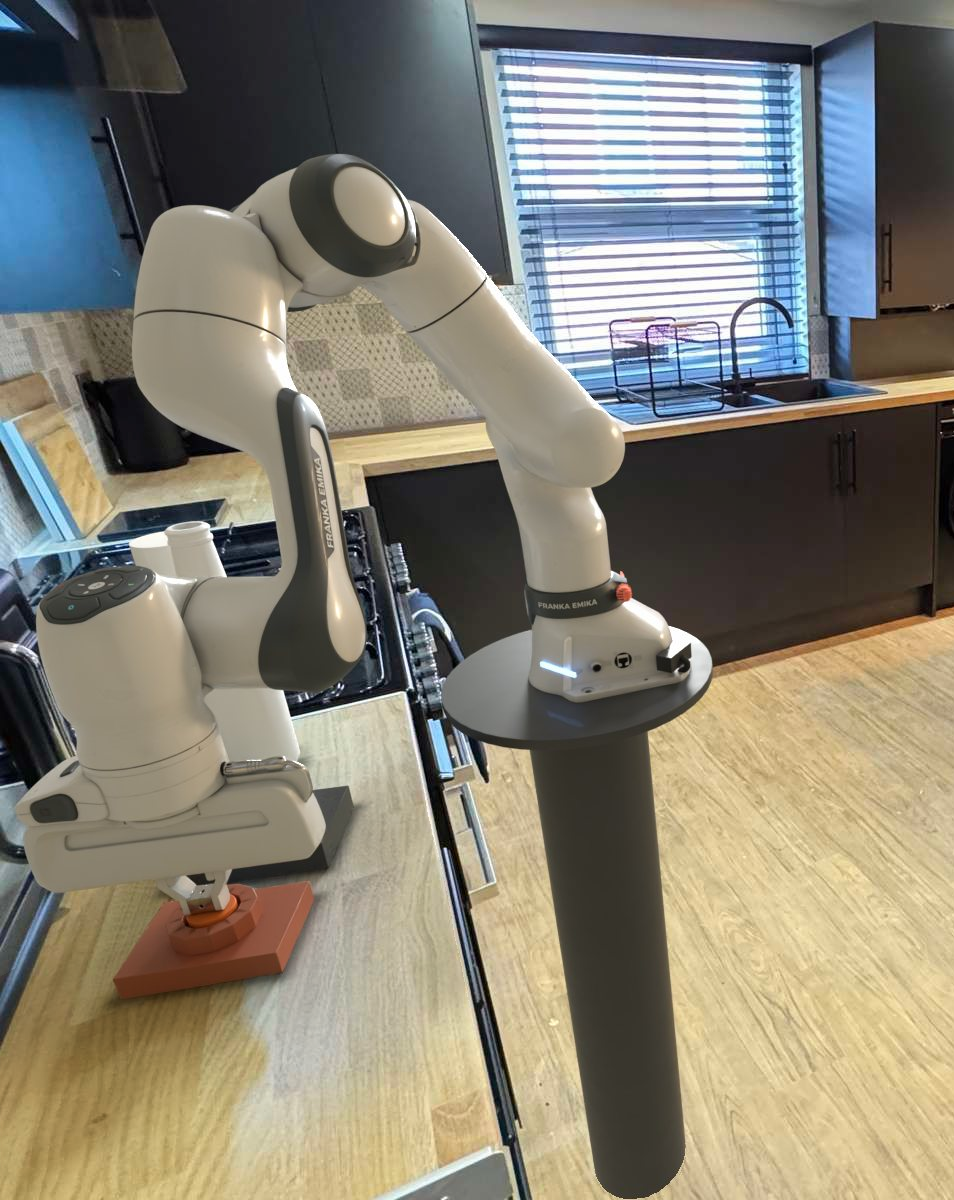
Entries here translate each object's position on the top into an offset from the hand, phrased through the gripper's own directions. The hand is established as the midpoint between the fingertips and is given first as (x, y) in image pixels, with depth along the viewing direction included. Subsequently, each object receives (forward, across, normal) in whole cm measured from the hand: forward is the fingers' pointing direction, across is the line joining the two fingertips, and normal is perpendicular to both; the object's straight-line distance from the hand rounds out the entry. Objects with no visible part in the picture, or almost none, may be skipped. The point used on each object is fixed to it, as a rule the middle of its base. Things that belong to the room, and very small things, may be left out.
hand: (208, 907), depth 72 cm
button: (+2, 0, 0) cm, 2 cm away
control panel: (+4, +1, -14) cm, 15 cm away
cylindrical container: (+4, +16, -44) cm, 47 cm away
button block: (+4, 0, 0) cm, 4 cm away
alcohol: (+4, +7, -30) cm, 31 cm away
